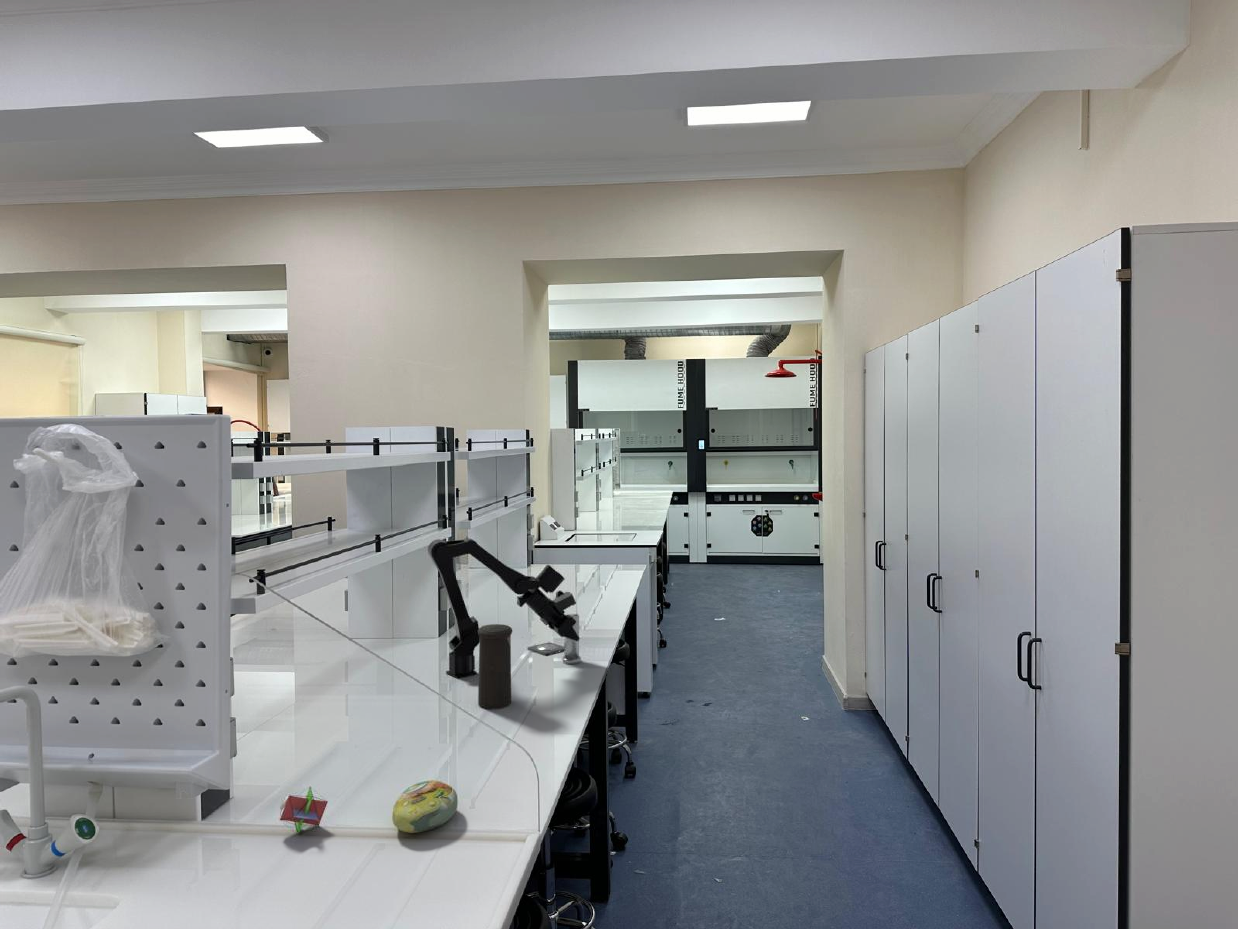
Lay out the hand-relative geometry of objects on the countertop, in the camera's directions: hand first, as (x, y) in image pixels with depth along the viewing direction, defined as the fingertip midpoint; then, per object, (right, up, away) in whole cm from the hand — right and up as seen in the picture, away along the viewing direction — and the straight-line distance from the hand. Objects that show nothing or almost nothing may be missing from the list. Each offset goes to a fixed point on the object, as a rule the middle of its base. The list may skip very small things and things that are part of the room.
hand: (576, 638), depth 235 cm
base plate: (-10, -7, +12) cm, 17 cm away
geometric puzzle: (-42, -11, -100) cm, 109 cm away
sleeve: (-1, -7, 0) cm, 7 cm away
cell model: (-22, -11, -96) cm, 100 cm away
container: (-19, -9, -37) cm, 43 cm away
